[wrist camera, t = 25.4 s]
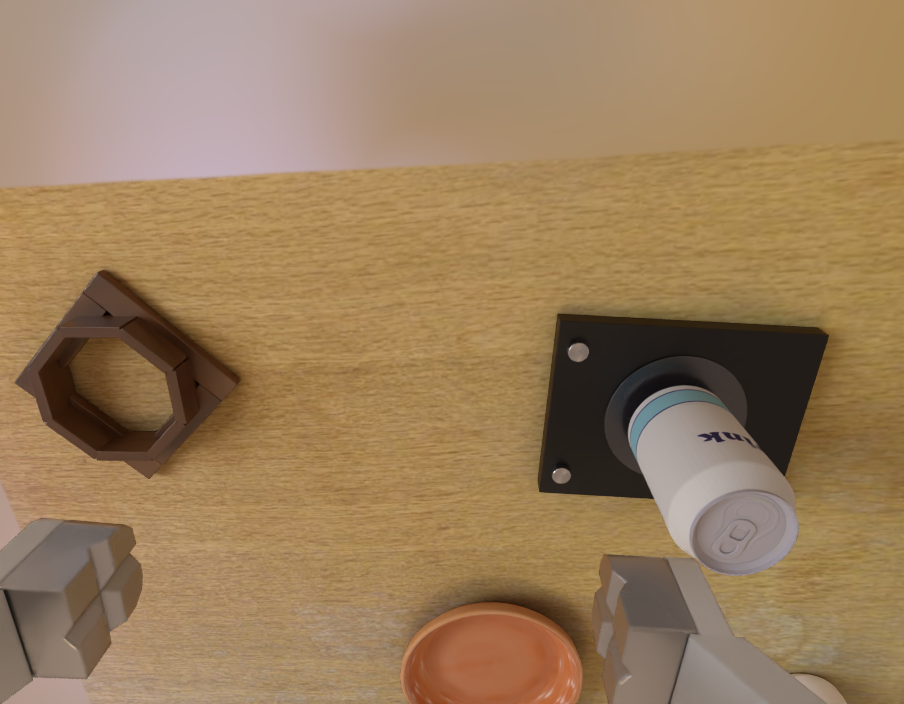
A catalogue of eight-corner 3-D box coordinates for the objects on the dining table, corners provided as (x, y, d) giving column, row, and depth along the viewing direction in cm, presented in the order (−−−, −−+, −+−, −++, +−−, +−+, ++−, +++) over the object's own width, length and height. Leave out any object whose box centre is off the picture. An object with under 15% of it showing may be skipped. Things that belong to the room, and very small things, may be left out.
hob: (537, 480, 46) (540, 497, 44) (557, 313, 41) (561, 323, 39) (766, 494, 46) (779, 511, 44) (817, 327, 41) (834, 338, 39)
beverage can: (742, 400, 41) (840, 508, 30) (690, 475, 44) (763, 600, 33) (655, 364, 40) (723, 462, 29) (607, 443, 43) (653, 560, 32)
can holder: (21, 378, 44) (-9, 396, 42) (103, 269, 41) (76, 280, 38) (153, 473, 47) (133, 496, 45) (241, 380, 44) (225, 398, 41)
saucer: (530, 561, 49) (534, 588, 47) (606, 680, 55) (613, 711, 52) (371, 624, 53) (365, 652, 50) (456, 731, 58) (455, 762, 55)
